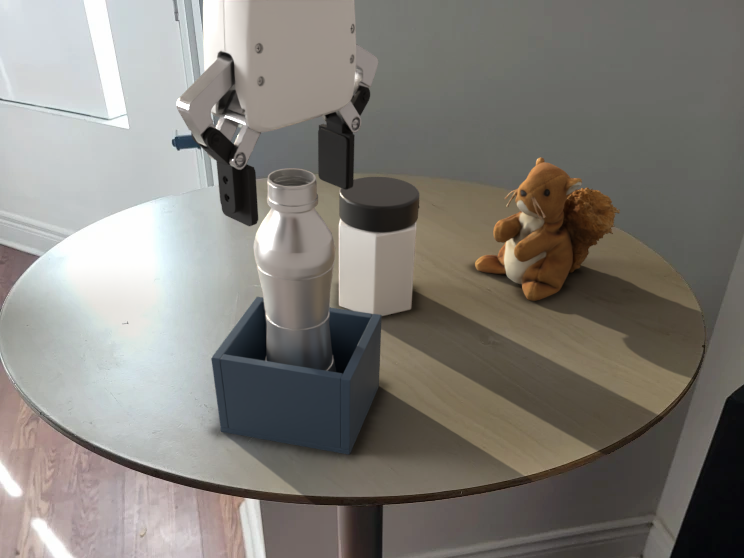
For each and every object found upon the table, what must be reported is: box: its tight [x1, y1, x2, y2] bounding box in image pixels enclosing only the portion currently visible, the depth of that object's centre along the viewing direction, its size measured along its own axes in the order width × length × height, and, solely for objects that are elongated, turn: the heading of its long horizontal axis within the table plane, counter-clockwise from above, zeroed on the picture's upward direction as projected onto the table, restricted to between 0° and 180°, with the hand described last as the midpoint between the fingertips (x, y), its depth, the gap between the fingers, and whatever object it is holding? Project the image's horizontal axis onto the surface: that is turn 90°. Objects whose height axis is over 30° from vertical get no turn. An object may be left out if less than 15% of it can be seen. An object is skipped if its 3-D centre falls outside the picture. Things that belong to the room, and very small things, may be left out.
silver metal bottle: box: [253, 167, 337, 372], centre depth 63 cm, size 6×7×20 cm
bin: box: [210, 296, 383, 455], centre depth 68 cm, size 12×11×8 cm
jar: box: [338, 176, 420, 317], centre depth 82 cm, size 9×8×12 cm
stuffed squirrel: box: [474, 157, 621, 302], centre depth 87 cm, size 10×14×13 cm
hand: (290, 200), depth 58 cm, fingers open, 9 cm apart
